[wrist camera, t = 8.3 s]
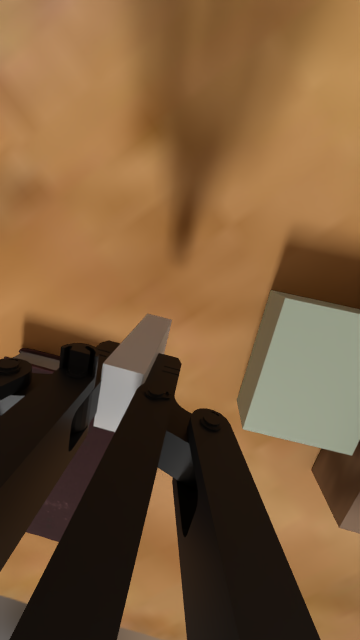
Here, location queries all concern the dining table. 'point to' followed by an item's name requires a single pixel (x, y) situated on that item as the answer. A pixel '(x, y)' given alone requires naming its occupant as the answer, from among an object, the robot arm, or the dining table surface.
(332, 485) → the board
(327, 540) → the dining table surface
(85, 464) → the book
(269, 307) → the block
